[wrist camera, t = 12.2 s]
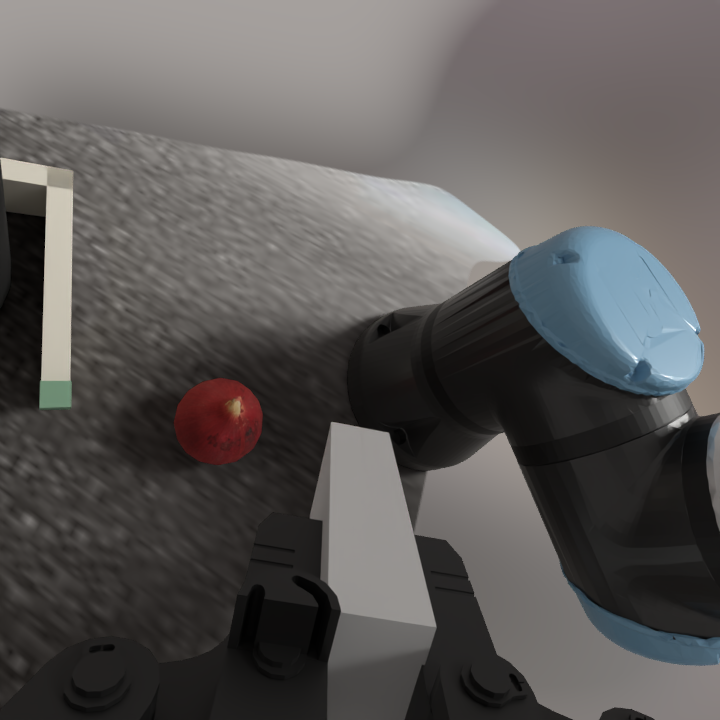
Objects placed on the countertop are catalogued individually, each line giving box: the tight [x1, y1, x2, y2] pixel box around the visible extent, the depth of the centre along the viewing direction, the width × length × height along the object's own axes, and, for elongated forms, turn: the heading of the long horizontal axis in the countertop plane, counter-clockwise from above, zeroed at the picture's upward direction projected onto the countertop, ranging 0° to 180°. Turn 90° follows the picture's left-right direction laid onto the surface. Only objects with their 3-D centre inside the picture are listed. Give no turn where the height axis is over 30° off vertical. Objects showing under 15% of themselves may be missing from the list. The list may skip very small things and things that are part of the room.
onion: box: [174, 378, 263, 465], centre depth 36 cm, size 6×6×8 cm
